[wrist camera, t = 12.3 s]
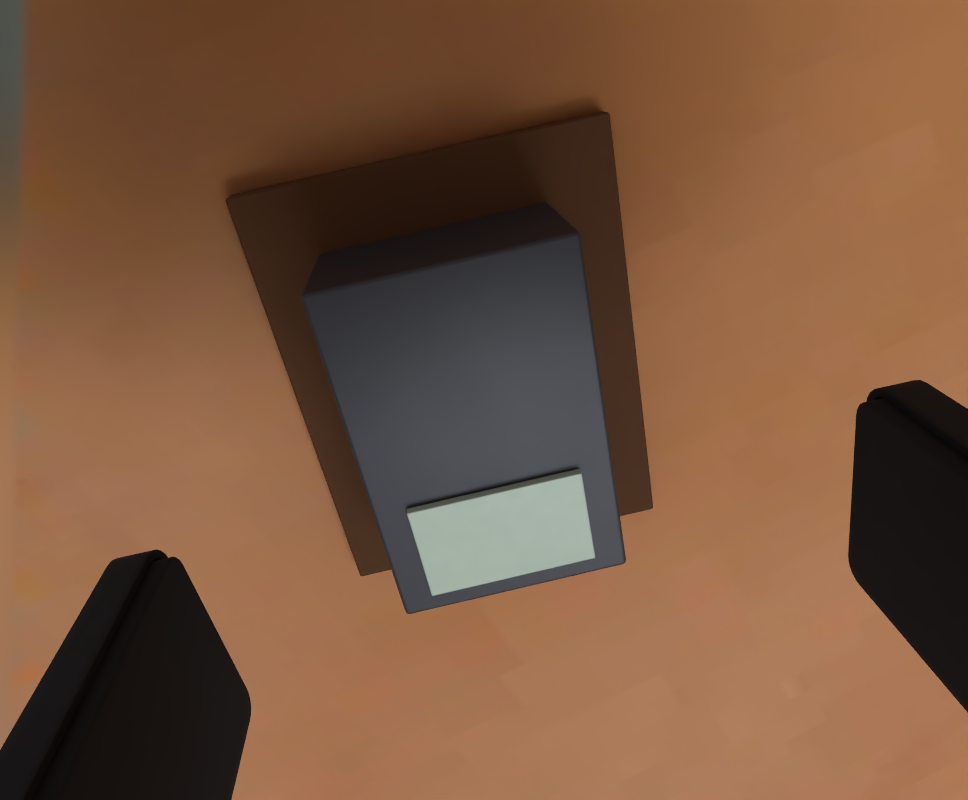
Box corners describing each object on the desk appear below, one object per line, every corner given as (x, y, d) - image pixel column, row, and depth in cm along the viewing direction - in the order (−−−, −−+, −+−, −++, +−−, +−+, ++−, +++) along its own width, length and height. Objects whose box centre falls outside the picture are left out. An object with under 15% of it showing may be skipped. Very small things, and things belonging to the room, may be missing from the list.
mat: (229, 194, 14) (223, 198, 14) (603, 110, 15) (610, 112, 14) (361, 565, 19) (360, 577, 18) (648, 499, 19) (653, 509, 19)
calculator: (317, 253, 15) (297, 299, 12) (548, 200, 15) (583, 233, 12) (405, 534, 18) (406, 623, 15) (593, 490, 18) (630, 570, 15)
